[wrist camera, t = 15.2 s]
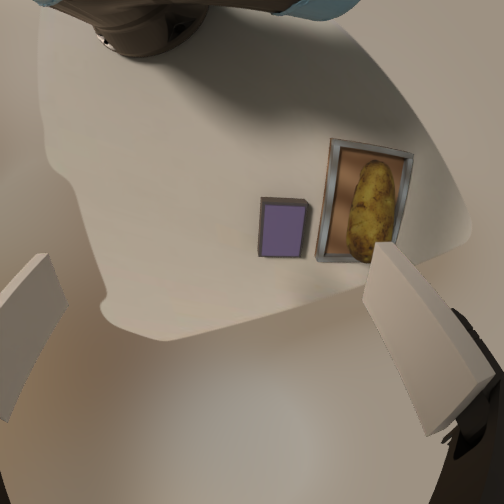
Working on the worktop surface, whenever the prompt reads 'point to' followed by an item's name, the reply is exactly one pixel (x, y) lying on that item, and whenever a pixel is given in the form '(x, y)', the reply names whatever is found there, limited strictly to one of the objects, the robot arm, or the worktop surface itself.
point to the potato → (371, 211)
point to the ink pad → (281, 227)
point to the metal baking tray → (342, 192)
